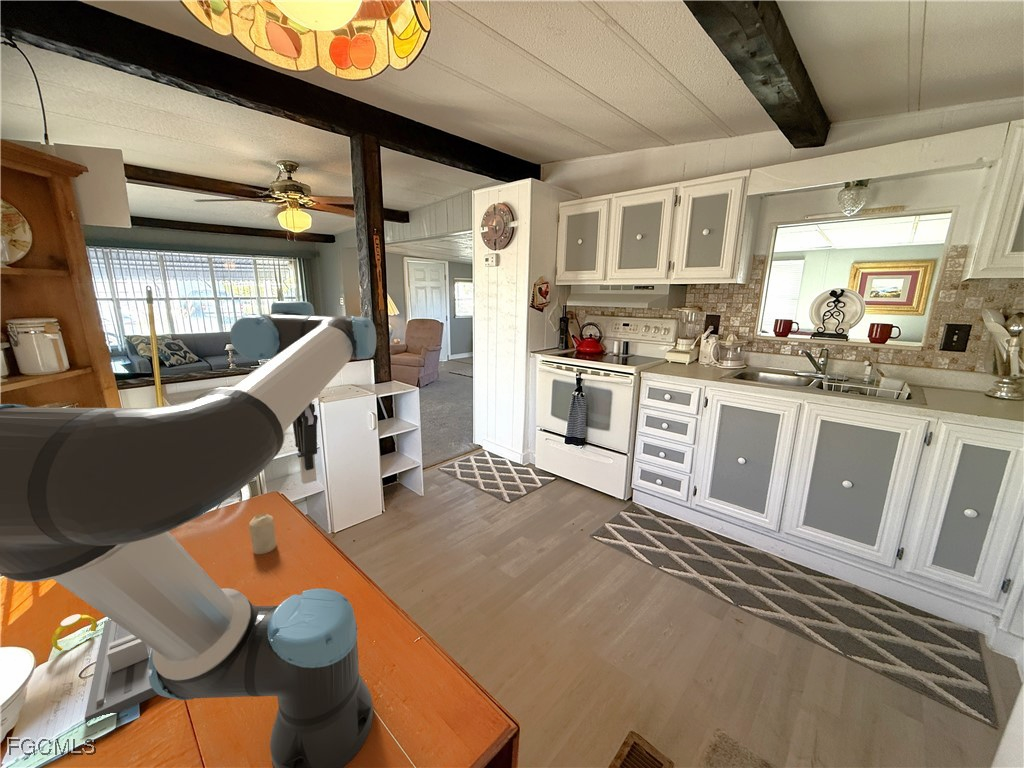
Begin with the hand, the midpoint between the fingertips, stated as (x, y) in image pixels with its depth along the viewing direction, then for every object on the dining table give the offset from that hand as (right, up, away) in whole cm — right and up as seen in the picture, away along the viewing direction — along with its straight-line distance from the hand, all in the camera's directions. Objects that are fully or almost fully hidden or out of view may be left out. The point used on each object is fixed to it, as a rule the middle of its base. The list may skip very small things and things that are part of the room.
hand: (309, 480), depth 87 cm
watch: (-42, -31, -8) cm, 53 cm away
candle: (-24, -24, +22) cm, 41 cm away
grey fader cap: (-26, -30, -13) cm, 42 cm away
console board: (-25, -31, -8) cm, 41 cm away
